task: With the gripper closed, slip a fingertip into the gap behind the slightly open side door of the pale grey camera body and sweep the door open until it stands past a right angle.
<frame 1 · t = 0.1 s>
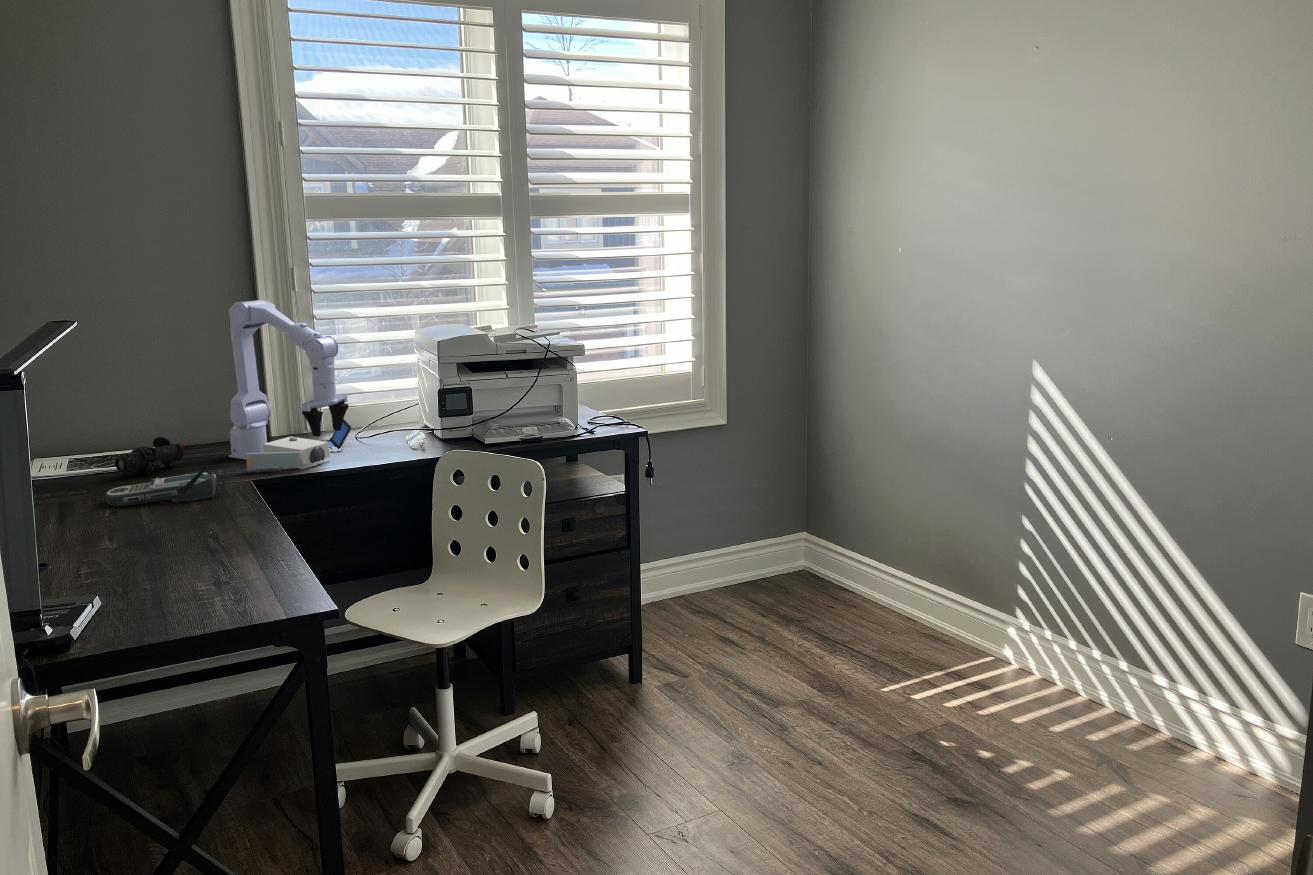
hand: (327, 433, 263), 10 cm above the table, tool pointing down, fingers open, 7 cm apart
night vision scope: (152, 472, 259), on the table
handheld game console: (330, 449, 288), on the table
side door: (274, 461, 261), point 3 cm above the table, hinge at 35.0°
communication device: (162, 500, 237), on the table
camera body: (297, 462, 271), on the table
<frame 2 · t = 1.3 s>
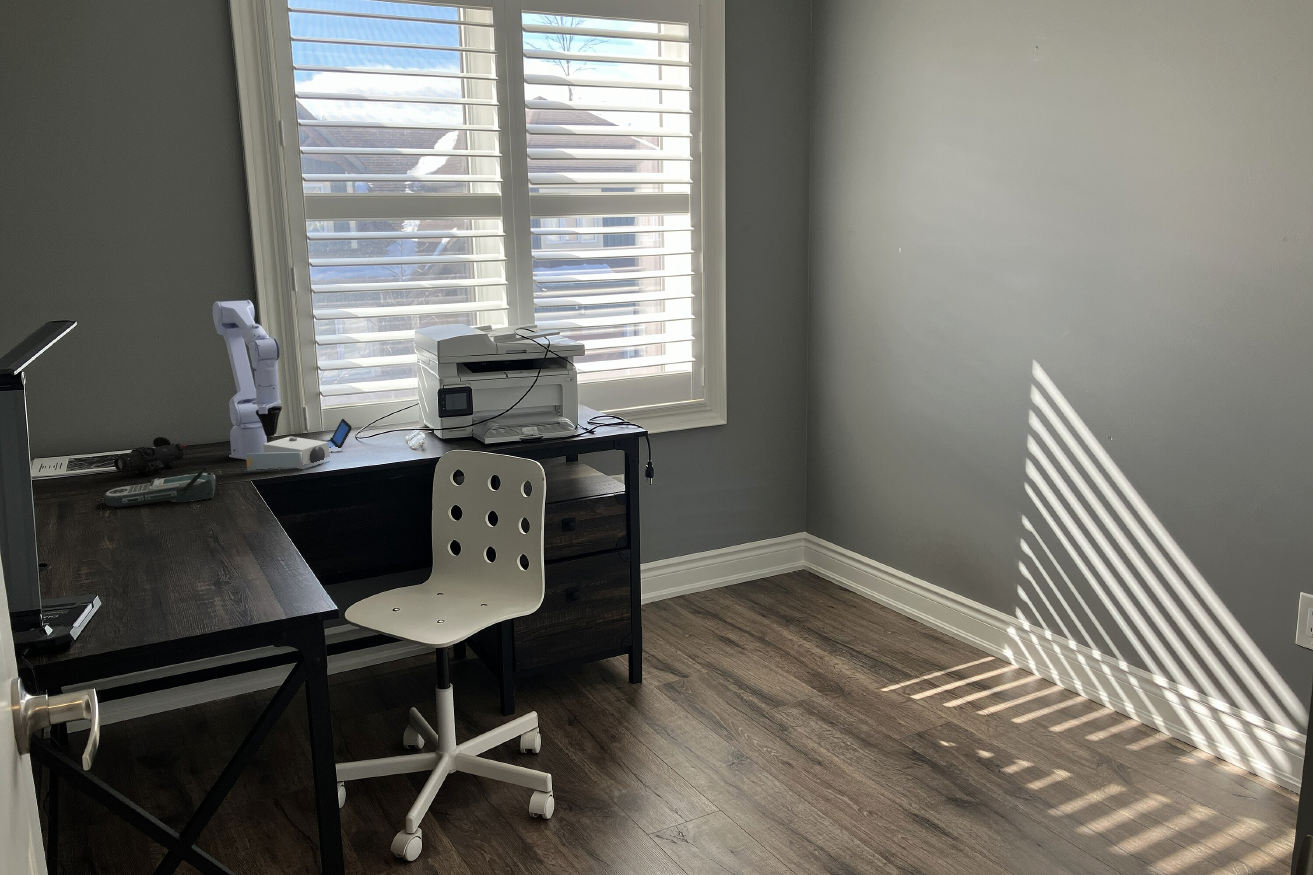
hand: (270, 434, 262), 9 cm above the table, tool pointing down, fingers closed
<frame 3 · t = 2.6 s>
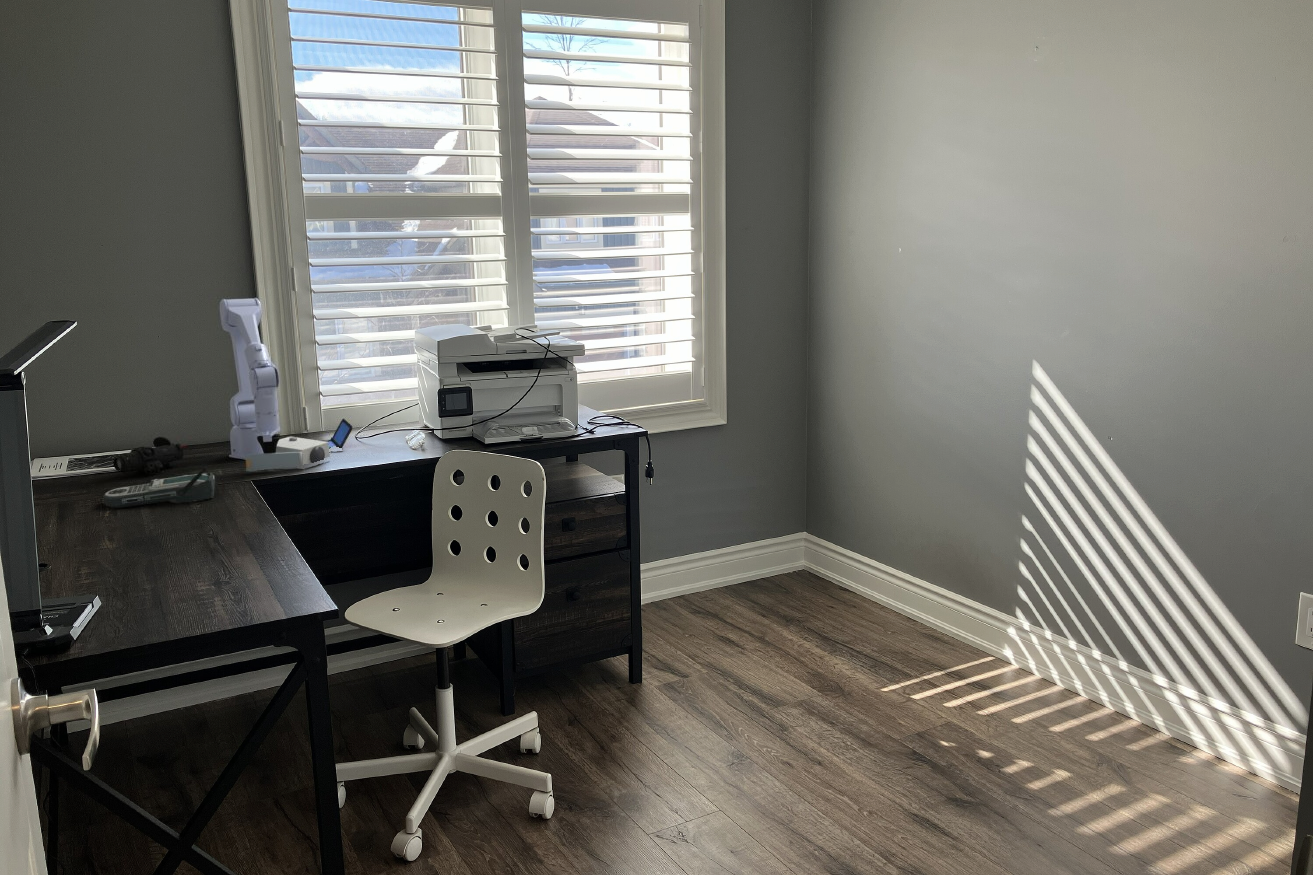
hand: (270, 462, 262), 2 cm above the table, tool pointing down, fingers closed
side door: (274, 461, 260), point 3 cm above the table, hinge at 40.1°, touching gripper
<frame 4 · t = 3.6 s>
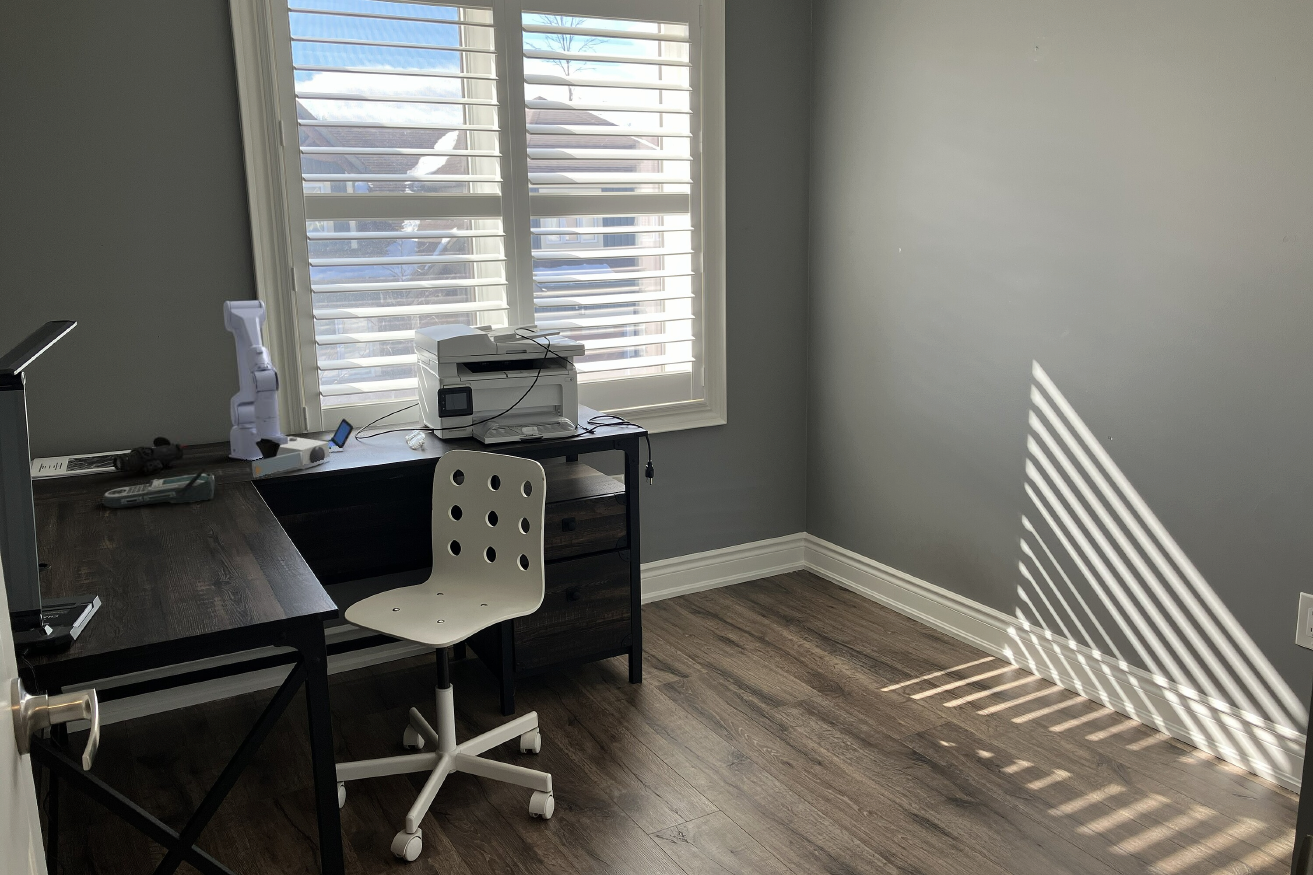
hand: (270, 466, 257), 2 cm above the table, tool pointing down, fingers closed
side door: (278, 465, 257), point 3 cm above the table, hinge at 76.4°, touching gripper
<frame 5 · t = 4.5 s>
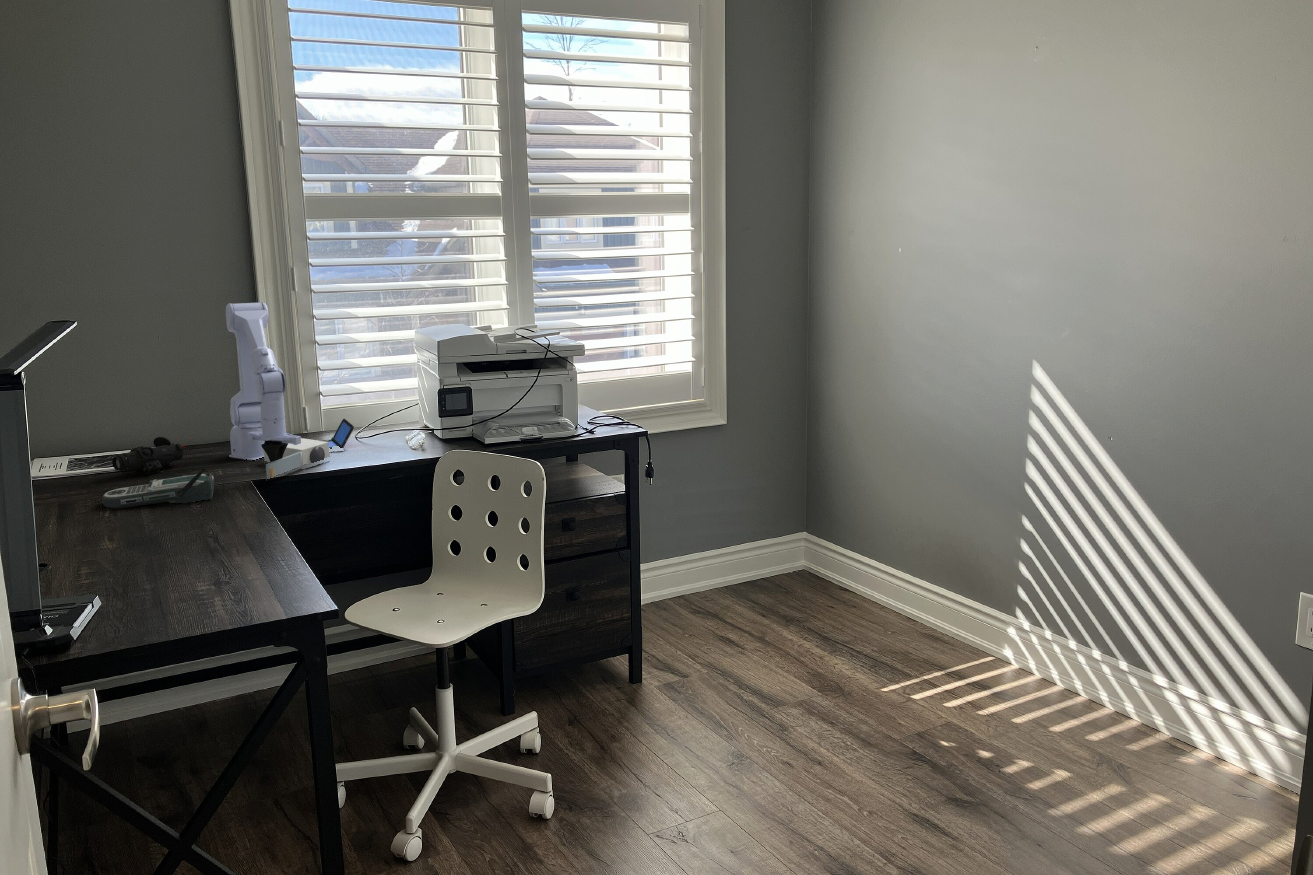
hand: (276, 468, 255), 2 cm above the table, tool pointing down, fingers closed
side door: (285, 466, 256), point 3 cm above the table, hinge at 98.6°, touching gripper
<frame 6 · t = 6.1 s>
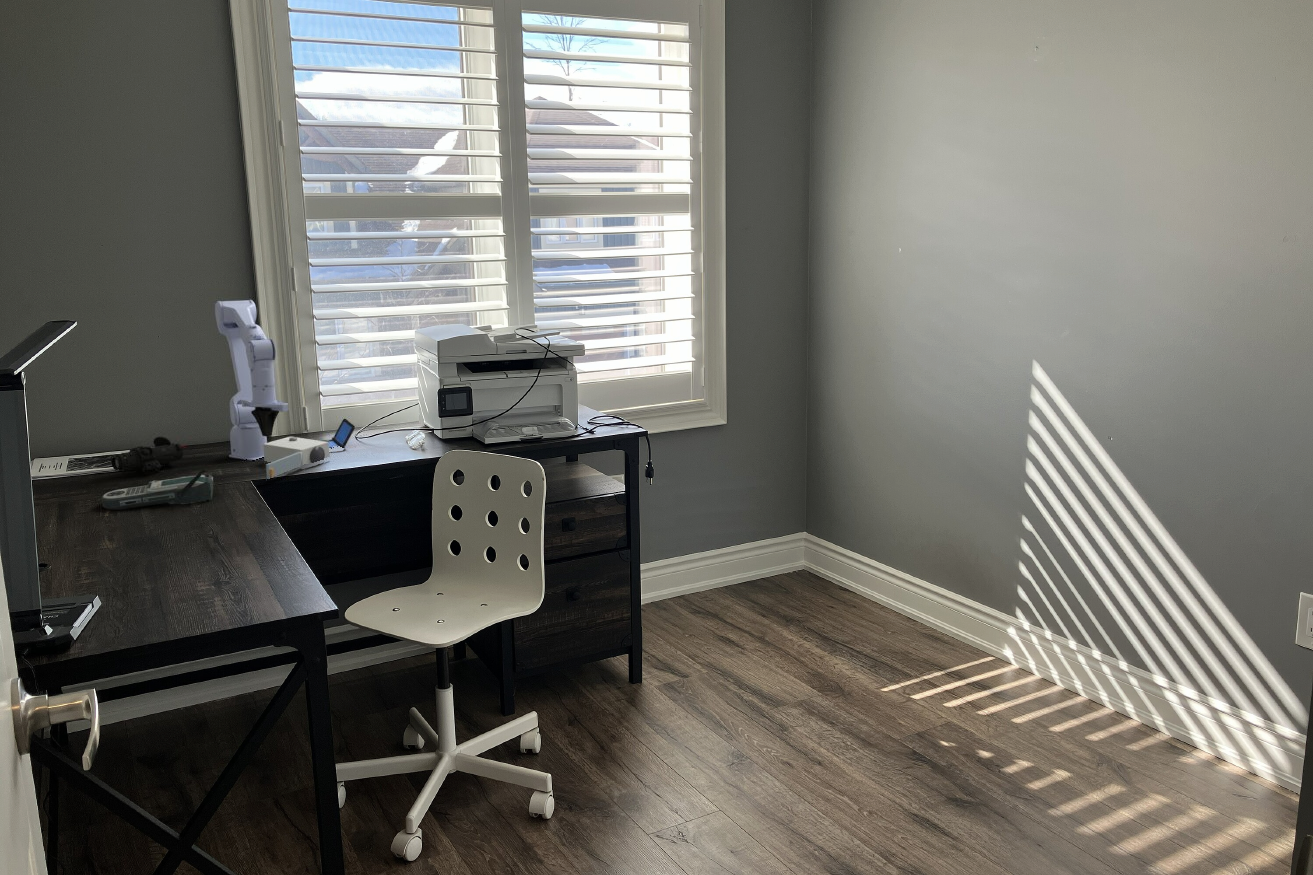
hand: (267, 435, 261), 9 cm above the table, tool pointing down, fingers closed
side door: (285, 466, 256), point 3 cm above the table, hinge at 98.7°
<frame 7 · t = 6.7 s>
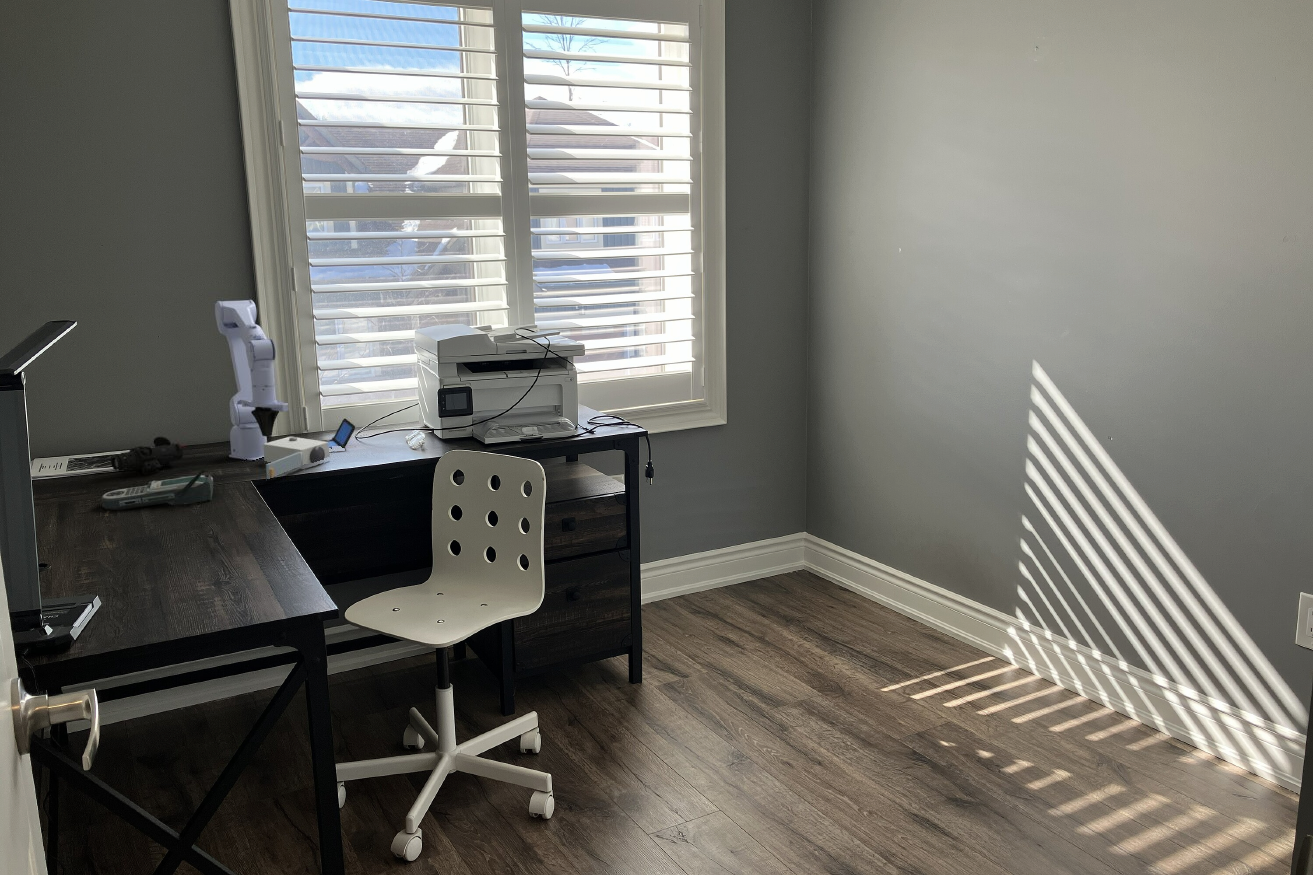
hand: (267, 435, 261), 9 cm above the table, tool pointing down, fingers closed
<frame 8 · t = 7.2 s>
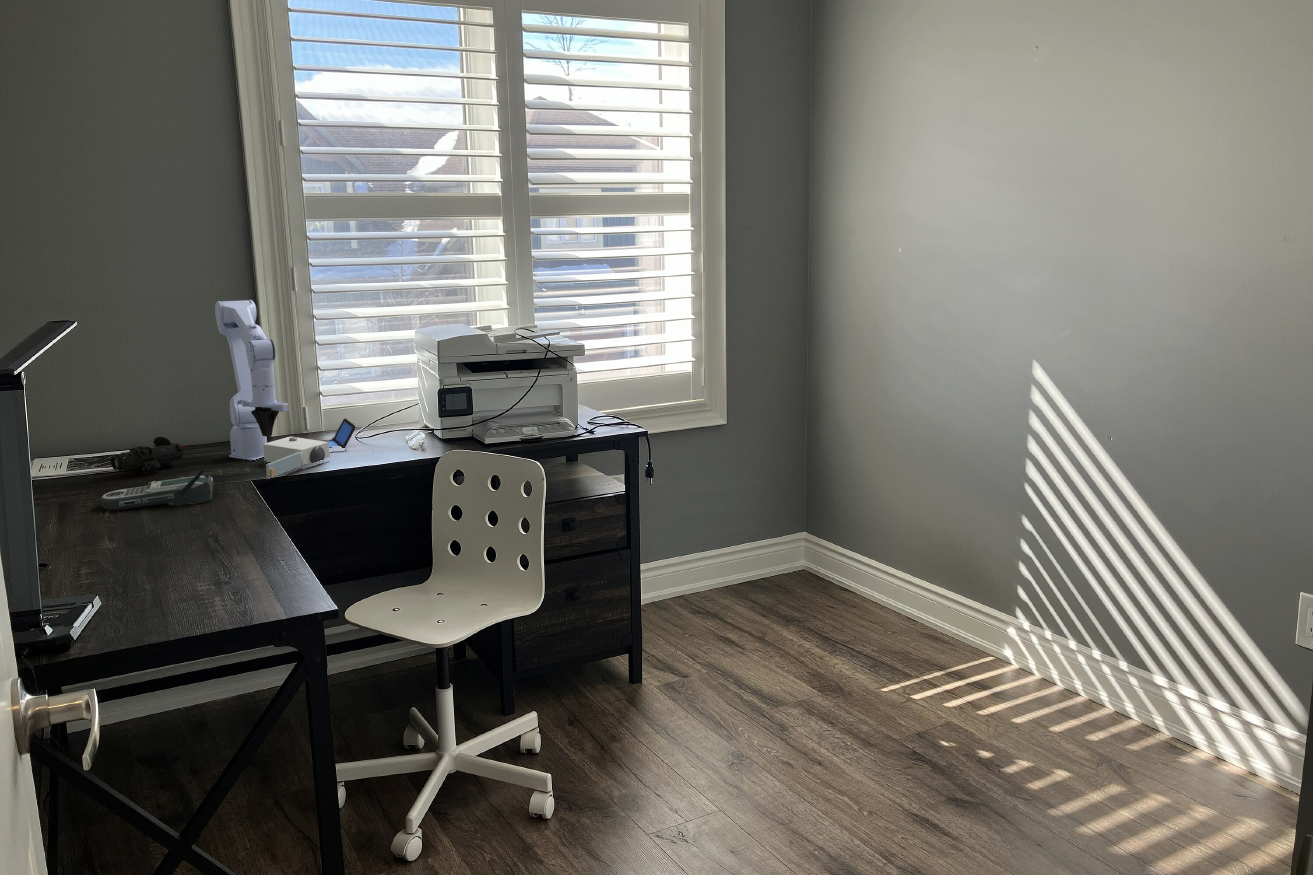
hand: (267, 435, 261), 9 cm above the table, tool pointing down, fingers closed
at the end: side door at +99° (first picture: +35°) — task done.
